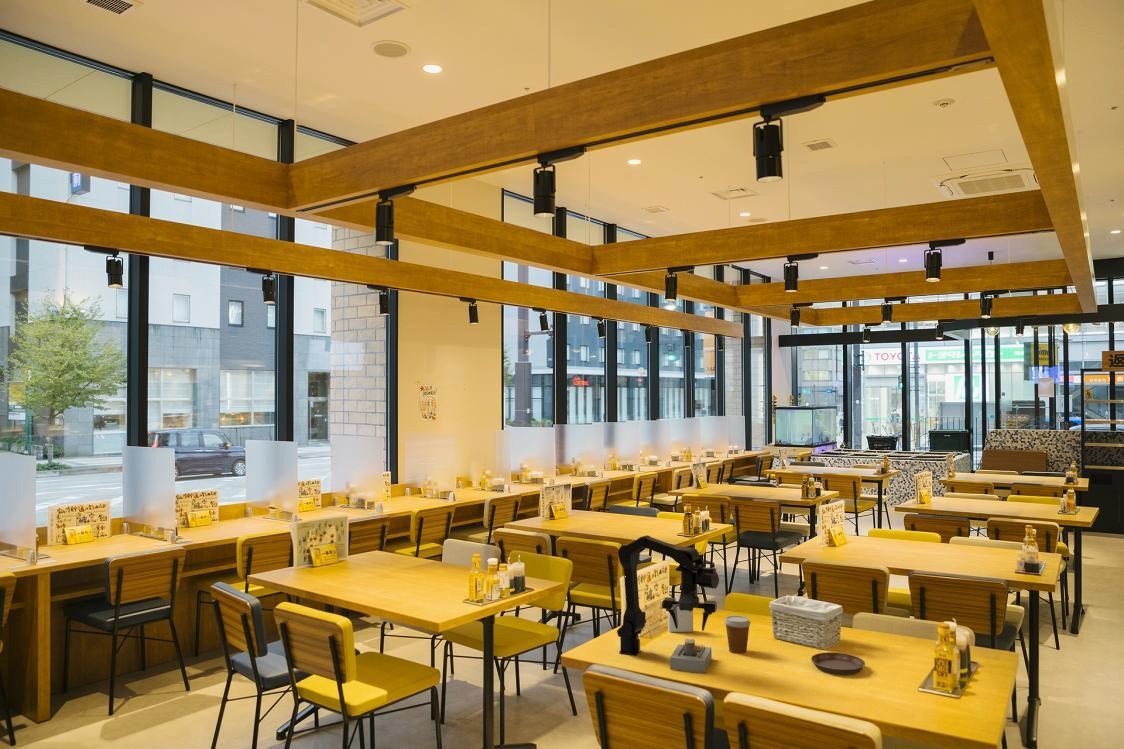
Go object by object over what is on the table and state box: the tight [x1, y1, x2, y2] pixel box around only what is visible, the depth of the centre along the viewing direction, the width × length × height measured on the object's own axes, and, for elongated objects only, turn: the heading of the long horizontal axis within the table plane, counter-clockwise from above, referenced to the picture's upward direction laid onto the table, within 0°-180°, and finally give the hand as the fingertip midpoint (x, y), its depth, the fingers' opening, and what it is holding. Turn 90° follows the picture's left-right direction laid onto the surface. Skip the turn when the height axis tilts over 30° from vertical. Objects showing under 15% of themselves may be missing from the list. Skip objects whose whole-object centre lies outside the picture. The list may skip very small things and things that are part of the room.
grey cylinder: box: [684, 637, 696, 657], centre depth 264 cm, size 3×3×9 cm
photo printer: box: [667, 599, 694, 633], centre depth 306 cm, size 10×4×12 cm, turn 88°
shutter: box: [682, 643, 704, 651], centre depth 270 cm, size 6×6×2 cm
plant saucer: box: [810, 651, 866, 676], centre depth 261 cm, size 18×18×3 cm
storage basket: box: [769, 594, 844, 650], centre depth 293 cm, size 24×16×15 cm
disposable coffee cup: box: [724, 615, 751, 655], centre depth 280 cm, size 10×10×12 cm
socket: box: [669, 643, 713, 674], centre depth 266 cm, size 12×16×5 cm
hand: (689, 629), depth 265 cm, fingers open, 9 cm apart
